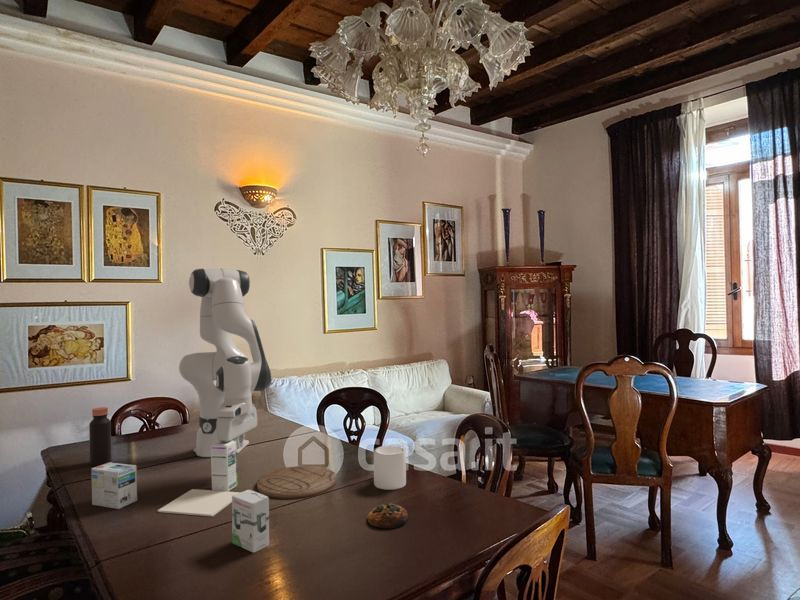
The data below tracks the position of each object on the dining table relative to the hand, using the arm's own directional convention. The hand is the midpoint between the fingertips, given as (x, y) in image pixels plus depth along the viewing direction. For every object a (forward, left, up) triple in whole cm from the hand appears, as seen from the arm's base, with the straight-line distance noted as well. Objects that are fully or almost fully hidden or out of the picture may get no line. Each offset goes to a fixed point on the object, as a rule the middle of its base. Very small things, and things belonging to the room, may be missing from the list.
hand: (238, 447), depth 167 cm
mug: (-5, +50, -10) cm, 51 cm away
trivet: (+1, +21, -11) cm, 24 cm away
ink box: (+41, +26, -10) cm, 49 cm away
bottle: (-6, -59, -10) cm, 60 cm away
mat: (+20, -1, -10) cm, 23 cm away
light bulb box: (+25, -26, -10) cm, 37 cm away
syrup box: (+9, 0, -10) cm, 14 cm away
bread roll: (+22, +56, -11) cm, 61 cm away
